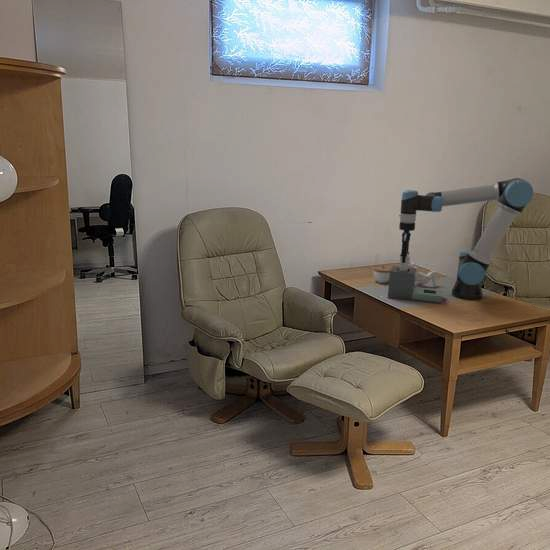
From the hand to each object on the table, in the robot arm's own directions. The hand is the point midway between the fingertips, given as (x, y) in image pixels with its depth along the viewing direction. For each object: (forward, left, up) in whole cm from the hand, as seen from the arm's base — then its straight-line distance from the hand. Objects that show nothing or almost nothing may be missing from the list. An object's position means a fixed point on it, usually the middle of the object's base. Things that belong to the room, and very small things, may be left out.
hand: (403, 267), depth 274 cm
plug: (0, 0, -4) cm, 4 cm away
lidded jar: (+13, -24, -15) cm, 31 cm away
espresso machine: (-7, 0, -15) cm, 17 cm away
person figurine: (-7, -24, -16) cm, 30 cm away
